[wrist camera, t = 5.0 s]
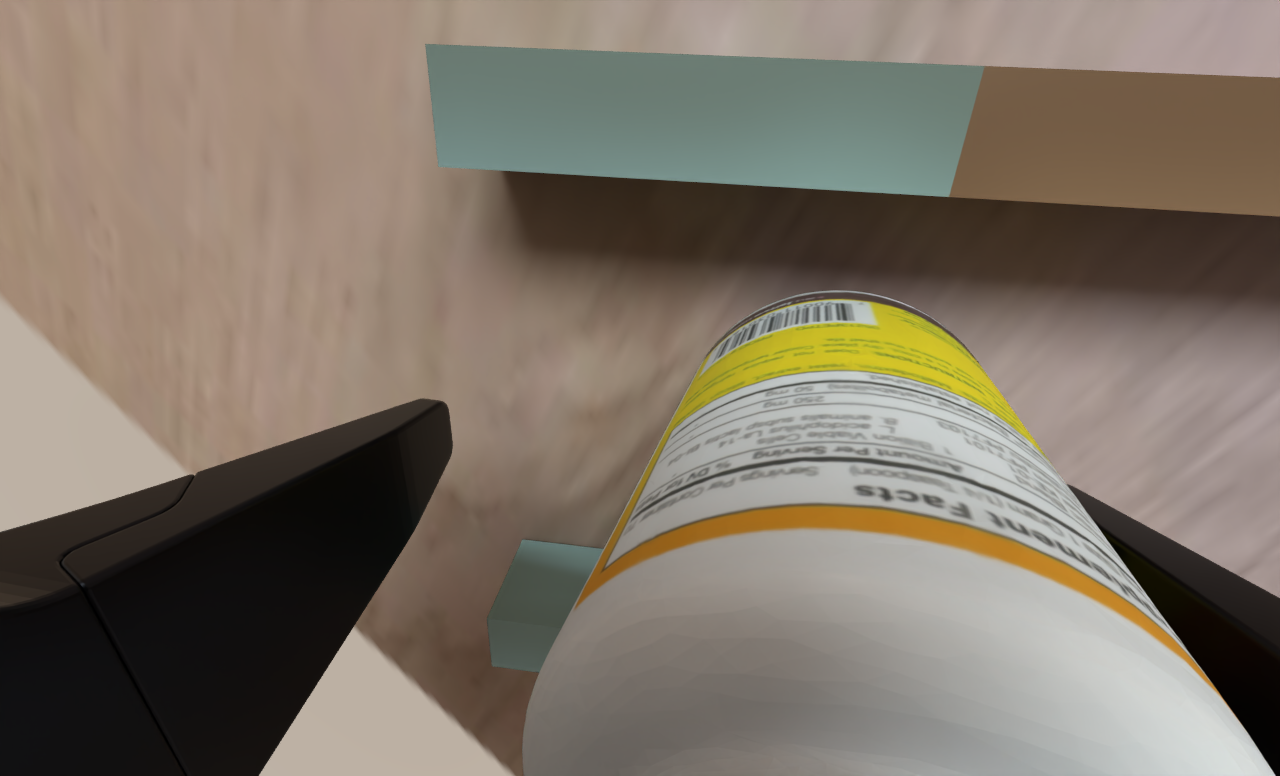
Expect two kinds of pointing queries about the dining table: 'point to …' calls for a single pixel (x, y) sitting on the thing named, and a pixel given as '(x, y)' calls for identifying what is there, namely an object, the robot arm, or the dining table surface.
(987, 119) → the bay
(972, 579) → the supplement bottle
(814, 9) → the dining table surface
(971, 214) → the dining table surface
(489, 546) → the dining table surface
